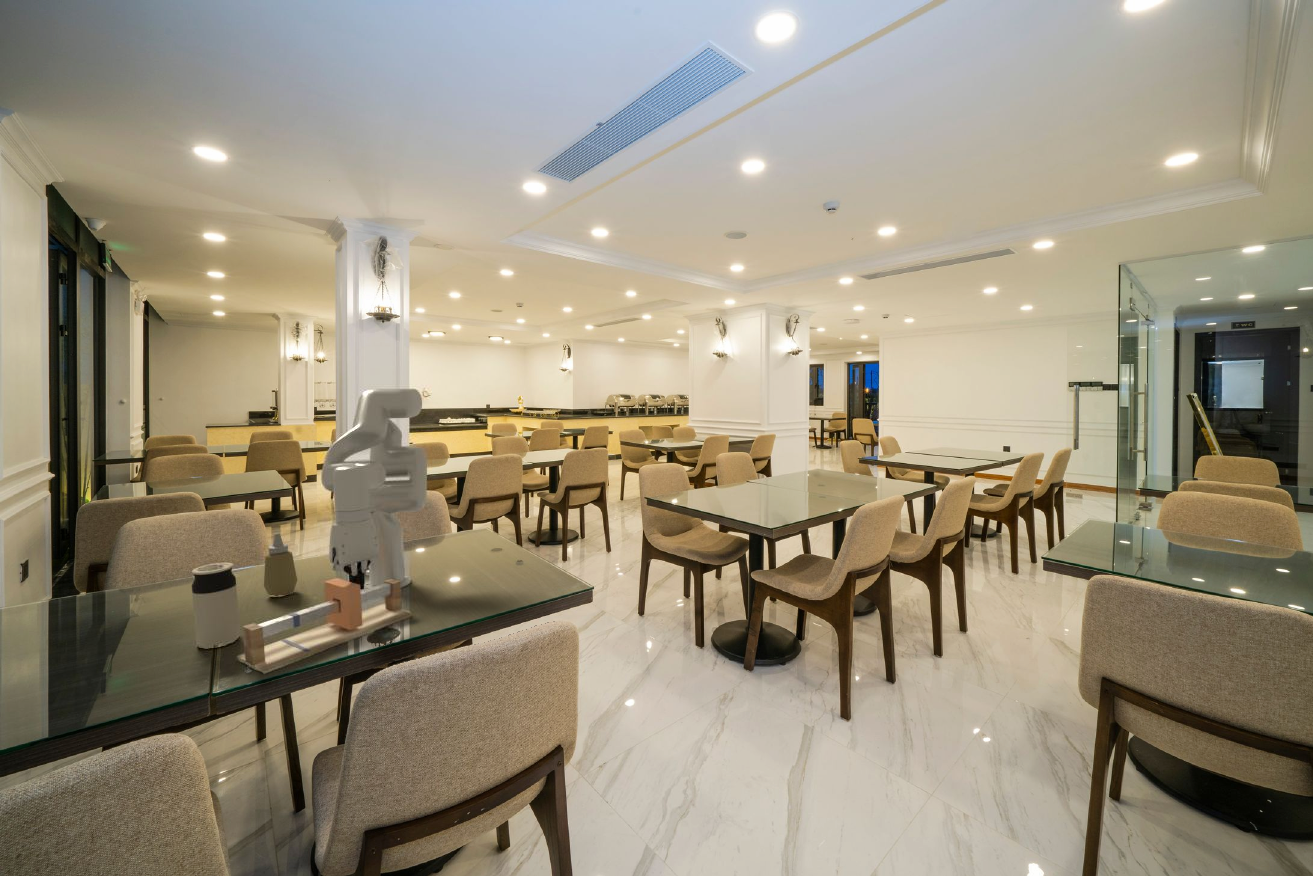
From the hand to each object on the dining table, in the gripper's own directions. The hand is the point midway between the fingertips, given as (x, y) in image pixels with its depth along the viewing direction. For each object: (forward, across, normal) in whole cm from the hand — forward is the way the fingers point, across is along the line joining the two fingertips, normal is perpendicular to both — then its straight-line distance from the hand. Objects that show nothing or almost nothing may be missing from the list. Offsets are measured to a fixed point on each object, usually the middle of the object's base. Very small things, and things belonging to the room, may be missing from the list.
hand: (357, 589), depth 136 cm
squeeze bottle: (+10, -2, -41) cm, 42 cm away
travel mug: (+10, +22, -20) cm, 31 cm away
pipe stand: (+10, +7, 0) cm, 12 cm away
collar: (+7, +4, 0) cm, 8 cm away
